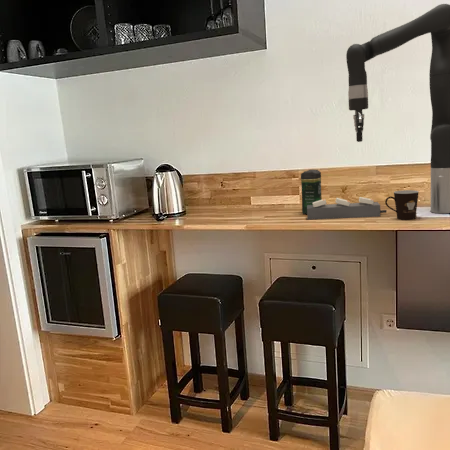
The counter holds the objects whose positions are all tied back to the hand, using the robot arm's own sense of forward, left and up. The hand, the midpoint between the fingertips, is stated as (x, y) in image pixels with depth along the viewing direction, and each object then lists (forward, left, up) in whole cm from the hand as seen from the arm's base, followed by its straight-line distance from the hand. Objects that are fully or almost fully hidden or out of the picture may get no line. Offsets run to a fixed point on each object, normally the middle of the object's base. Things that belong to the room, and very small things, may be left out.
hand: (359, 141), depth 195 cm
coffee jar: (+20, -3, -29) cm, 35 cm away
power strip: (+7, +8, -29) cm, 31 cm away
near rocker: (-1, +9, -23) cm, 25 cm away
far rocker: (+17, +9, -23) cm, 30 cm away
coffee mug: (-13, +18, -29) cm, 37 cm away
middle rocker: (+8, +9, -23) cm, 26 cm away
